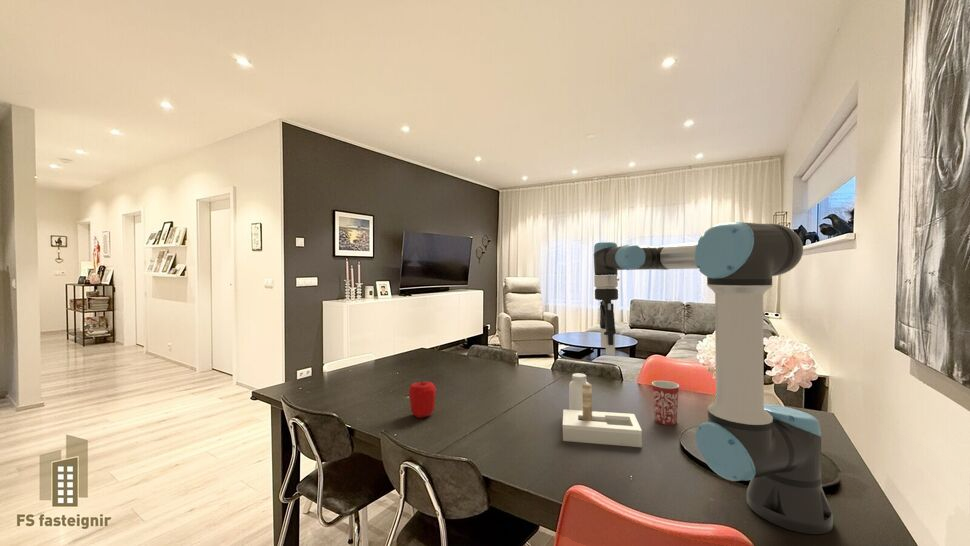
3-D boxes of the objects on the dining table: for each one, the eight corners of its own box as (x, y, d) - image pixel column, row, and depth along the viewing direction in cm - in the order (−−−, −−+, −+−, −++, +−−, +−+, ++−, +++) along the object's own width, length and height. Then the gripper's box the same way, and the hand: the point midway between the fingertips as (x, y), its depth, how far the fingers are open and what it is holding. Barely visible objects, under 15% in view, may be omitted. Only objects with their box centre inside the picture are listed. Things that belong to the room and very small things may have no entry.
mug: (677, 428, 131) (676, 389, 131) (649, 422, 137) (649, 385, 137) (683, 417, 141) (683, 380, 141) (657, 411, 147) (657, 377, 147)
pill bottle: (566, 415, 144) (566, 376, 144) (572, 408, 151) (571, 371, 151) (587, 419, 140) (587, 378, 140) (592, 412, 147) (592, 373, 147)
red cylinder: (428, 422, 139) (427, 385, 139) (404, 419, 142) (403, 383, 142) (440, 412, 149) (440, 377, 149) (417, 409, 152) (417, 375, 152)
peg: (596, 438, 124) (596, 387, 124) (579, 436, 125) (578, 386, 125) (595, 431, 130) (595, 382, 130) (578, 429, 131) (578, 382, 131)
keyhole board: (641, 447, 117) (641, 430, 117) (562, 440, 123) (562, 424, 123) (634, 429, 131) (634, 414, 131) (563, 423, 136) (563, 409, 136)
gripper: (624, 289, 115) (625, 358, 115) (612, 287, 140) (613, 344, 140) (598, 289, 117) (600, 358, 116) (591, 287, 141) (592, 344, 141)
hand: (607, 351), depth 128 cm, fingers open, 13 cm apart
